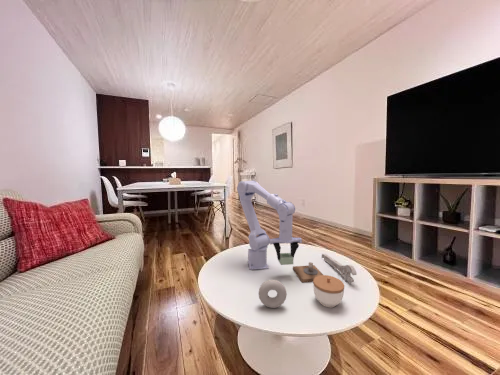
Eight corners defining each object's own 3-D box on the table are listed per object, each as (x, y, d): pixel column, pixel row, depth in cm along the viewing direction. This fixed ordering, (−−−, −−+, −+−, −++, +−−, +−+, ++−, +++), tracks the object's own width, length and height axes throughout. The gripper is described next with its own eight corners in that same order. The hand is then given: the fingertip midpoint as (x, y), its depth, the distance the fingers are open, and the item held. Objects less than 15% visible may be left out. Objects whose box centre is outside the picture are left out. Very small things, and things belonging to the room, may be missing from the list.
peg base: (301, 282, 91) (302, 270, 91) (292, 269, 103) (293, 258, 103) (325, 280, 93) (326, 268, 92) (314, 268, 105) (314, 257, 104)
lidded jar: (307, 302, 78) (308, 278, 77) (320, 290, 86) (320, 268, 85) (336, 316, 71) (338, 289, 70) (347, 301, 79) (348, 277, 78)
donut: (285, 304, 77) (286, 278, 76) (287, 310, 74) (287, 283, 73) (258, 303, 77) (258, 277, 76) (258, 309, 74) (258, 282, 73)
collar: (281, 265, 93) (281, 258, 92) (277, 259, 98) (277, 253, 98) (293, 264, 93) (293, 257, 93) (289, 258, 99) (289, 252, 99)
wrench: (324, 263, 117) (357, 287, 87) (321, 263, 117) (352, 287, 87) (324, 248, 117) (356, 267, 87) (321, 248, 117) (352, 268, 87)
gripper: (272, 232, 90) (271, 263, 91) (304, 231, 91) (304, 261, 93) (268, 228, 97) (268, 256, 98) (299, 226, 98) (298, 255, 100)
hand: (285, 258), depth 96 cm, fingers closed on collar, 6 cm apart
